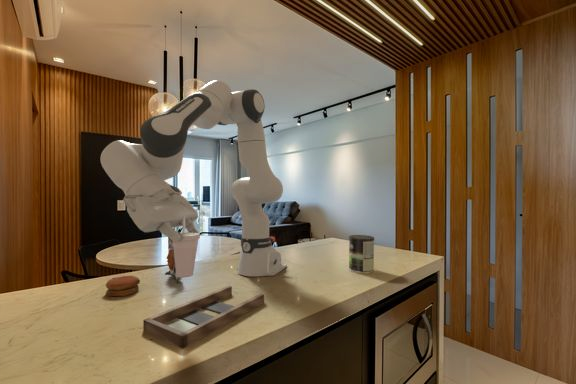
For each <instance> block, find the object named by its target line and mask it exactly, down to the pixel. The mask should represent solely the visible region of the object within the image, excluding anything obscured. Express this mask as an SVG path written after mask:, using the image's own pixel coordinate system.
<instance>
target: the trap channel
mask: <svg viewBox="0 0 576 384" xmlns="http://www.w3.org/2000/svg"><path fill="white" fill-rule="evenodd" d="M232 287H233V286H231V285H228V286H225V287H222V288H220V289H217V290H215V291H212V292H210V293H208V294H205V295H202V296H200V297H197V298H195V299H193V300H190V301H187V302H185V303H182V304H180V305H178V306H175V307H172V308H170V309H167V310H165V311H162V312H160V313H158V314H155V315H153V316H150V317H146V318H145V319H143V328H142V329H143V332H145V333H147V334H150V335H151V336H154V337H156V338H158V339H160V340H163V341H165V342H167V343H170V344H171V345H174V346H175V347H178V348H180V349H185V348H186V347H188V346H189V345H190V346H191V345H192V344H193V343H195V342H197V341H199V340H200V339H202V338H204V337H206V336H208V335H209V334H211V333H213V332H214V331H216V330H219V329H220V328H222V327H225V326H226V325H227V324H229V323H231V322H232V321H234V320H236V319H238V318H240V317H241V316H243V315H245V314H246V313H249V312H250V311H252V310H254V309H256V308H257V307H259V306H261V305H262V304H265V294H264V293H259V294H257V295H255V296H252V297H251V298H249V299H247V300H245V301H243V302H241V303H239V304H237V305H231V304H227V303H224V302H221V301H220V300H222V299H225V298H227V297H230V296H231V295H232V294H233V290H232V289H233V288H232ZM200 309H205V310H207V311H211V312H214V313H217V314H216V315H211V314H208V313H205V312H202V311H199V310H200Z"/></svg>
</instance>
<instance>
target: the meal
mask: <svg viewBox="0 0 576 384" xmlns="http://www.w3.org/2000/svg"><path fill="white" fill-rule="evenodd" d="M167 243H168V244H169V245H170V246H171V247H170V248H169V250H168V254H167V256H166V259H167V260H166V262H167V266H168V268H169V271H166V272H165V273H164V275H169V276H171V277H172V276H175V279H176V280H175V284H179V283H180V282H181V280H183V278H181V277H177V276H176V268H175V258H174V248H173V241H172V240H168V242H167Z"/></svg>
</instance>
